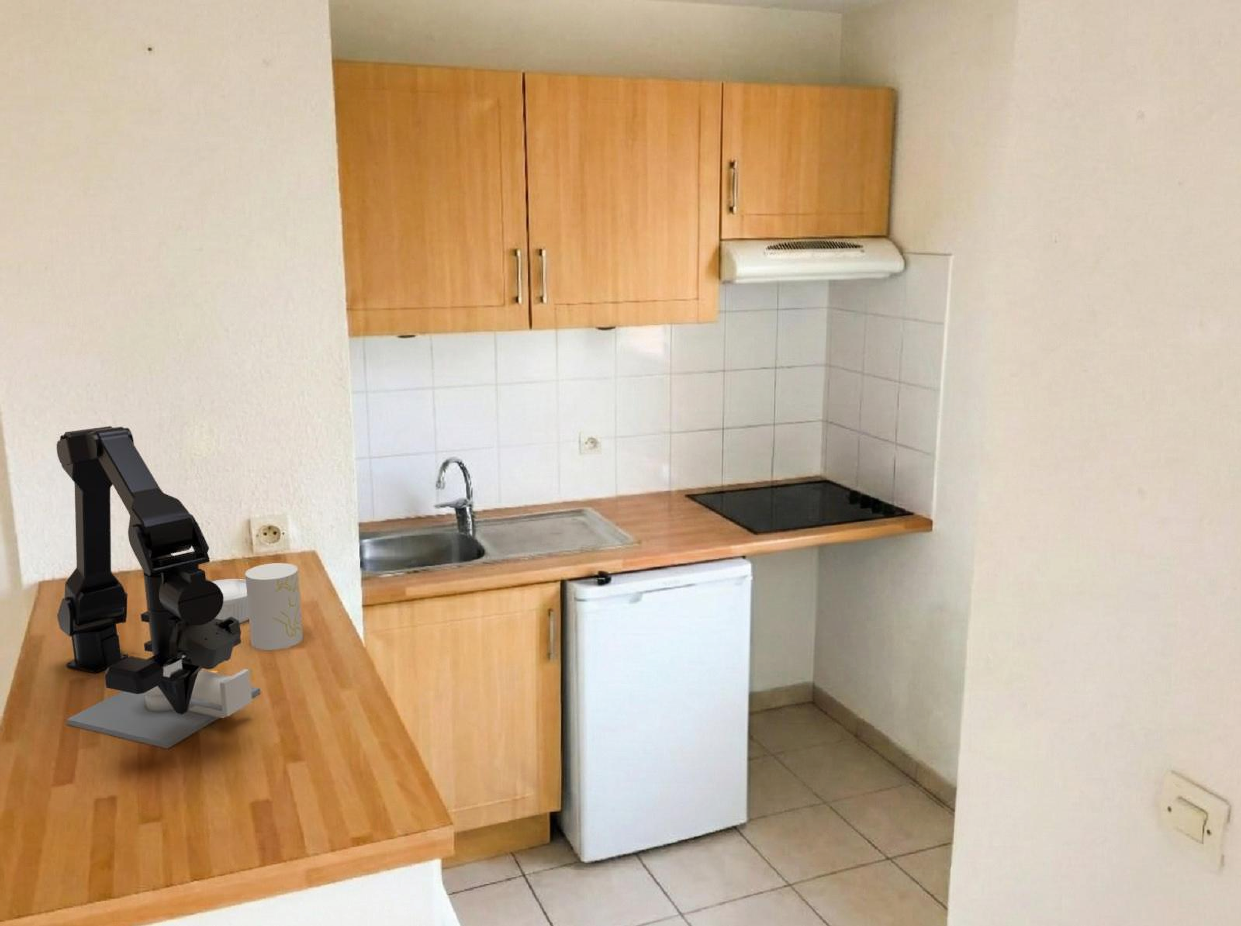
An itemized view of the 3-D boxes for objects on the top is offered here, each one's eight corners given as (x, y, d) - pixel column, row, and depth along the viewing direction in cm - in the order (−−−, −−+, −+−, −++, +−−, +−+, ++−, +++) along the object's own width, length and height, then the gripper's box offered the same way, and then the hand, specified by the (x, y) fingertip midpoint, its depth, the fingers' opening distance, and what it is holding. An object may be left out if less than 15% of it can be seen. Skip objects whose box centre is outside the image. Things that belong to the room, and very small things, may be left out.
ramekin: (274, 613, 189) (272, 585, 188) (221, 634, 180) (218, 605, 179) (232, 601, 195) (230, 574, 194) (178, 621, 186) (175, 592, 185)
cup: (287, 651, 173) (282, 581, 170) (241, 647, 174) (235, 577, 172) (311, 632, 181) (306, 564, 178) (267, 629, 182) (261, 561, 179)
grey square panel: (67, 724, 149) (64, 703, 148) (175, 668, 166) (173, 649, 166) (177, 751, 141) (175, 728, 141) (278, 690, 159) (277, 669, 158)
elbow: (130, 698, 151) (126, 666, 150) (164, 680, 157) (161, 649, 156) (223, 719, 145) (220, 686, 144) (255, 699, 151) (253, 667, 150)
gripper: (165, 638, 130) (177, 756, 133) (268, 588, 146) (276, 694, 150) (95, 625, 134) (109, 740, 137) (203, 578, 150) (212, 681, 154)
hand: (182, 712), depth 145 cm, fingers closed
